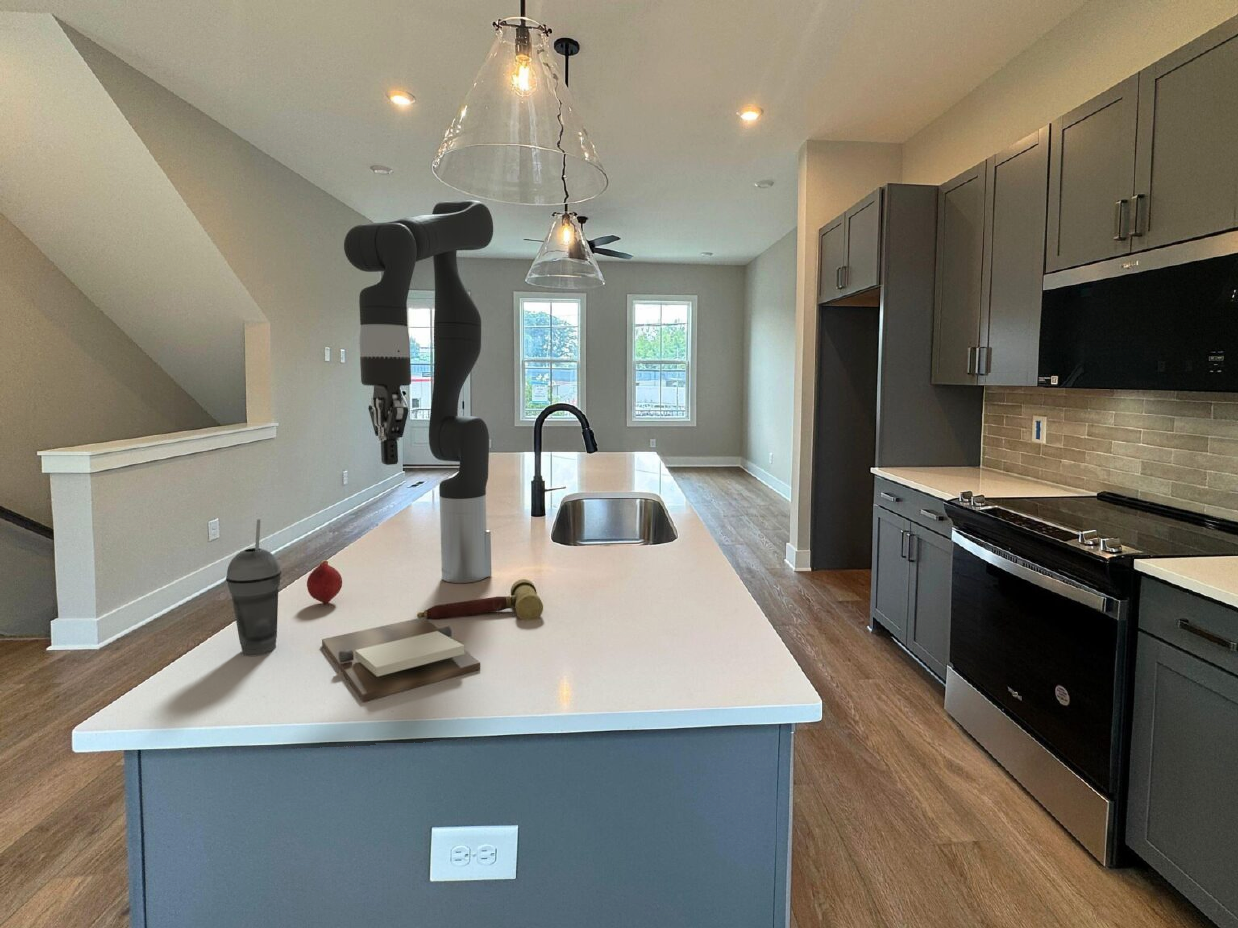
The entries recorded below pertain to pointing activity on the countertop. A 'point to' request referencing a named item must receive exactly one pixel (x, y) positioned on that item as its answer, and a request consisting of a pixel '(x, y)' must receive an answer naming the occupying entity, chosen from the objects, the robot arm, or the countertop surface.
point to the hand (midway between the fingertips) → (389, 463)
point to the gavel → (493, 604)
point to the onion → (324, 582)
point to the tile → (408, 653)
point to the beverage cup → (255, 597)
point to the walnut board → (398, 681)
